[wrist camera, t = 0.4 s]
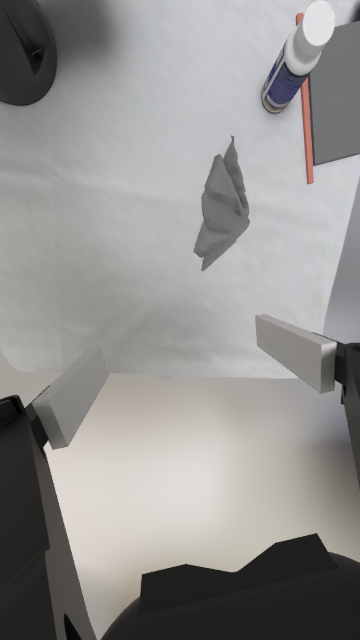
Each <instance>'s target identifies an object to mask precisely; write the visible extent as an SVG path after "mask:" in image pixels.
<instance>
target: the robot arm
mask: <svg viewBox="0 0 360 640" xmlns="http://www.w3.org/2000/svg"><path fill="white" fill-rule="evenodd" d="M56 63H57V58H56V48H55V43H54V39H53V35H52V33H51V30H50V28H49V25H48V23H47V21H46V19H45V17H44V15H43V12H42V10H41V8H40V6H39V4H38V2H37V1H36V0H0V100H1V101H4V102H7V103H10V104H16V105H24V104H29V103H33V102H35V101H37V100H38V99H40V98H41V97H42V96H43V95H44V94H45V93H46V92H47V91H48V89H49V88H50V86H51V84H52V82H53V79H54V76H55V72H56ZM255 321H256V335H257V346H258V347H260V348H261V349H262V350H264V351H265V352H266V353H268V354H269V355H270V356H271V357H273V358H274V359H275V360H277V361H278V362H279V363H281V364H282V365H283V366H285V367H286V368H287V369H289V370H290V371H291V372H293V373H294V374H295V375H296V376H298V377H299V378H300V379H302V380H303V381H304V382H306V383H307V384H308V385H310V386H311V387H312V388H314V389H315V390H316V391H318V392H319V393H320V394H321V393H326V392H331V391H334V387H335V380H336V381H337V382H339V383H341V384H342V395H341V404H344V406H345V412H346V418H347V423H348V429H349V433H350V439H351V445H352V450H353V456H354V461H355V467H356V472H357V477H358V483H359V488H360V343H348V344H343V343H340V342H338V341H335V340H332V339H328V338H327V337H325V336H322V335H319V334H317V333H313V332H309V331H307V330H304V329H301V328H299V327H296V326H294V325H291V324H289V323H286V322H283V321H281V320H278V319H276V318H273V317H270V316H268V315H265V314H261V315H256V316H255ZM108 376H109V373H108V370H107V367H106V364H105V360H104V357H103V354H102V351H101V348H100V346H95V347H90V348H89V349H88V350H87V351H86V352H85V353H84V354H83V355H82V356H81V357H80V358H79V359H78V360H77V361H76V362H74V363H73V364H72V365H71V366H70V367H69V368H68V369H67V370H66V371H65V372H64V373H63V374H62V375H61V376H60V377H59V378H58V379H57V380H55V382H53V383H52V384H51V385H49V386H48V387H47V388H46V389H45V390H44V391H43V392H42V393H40V394H39V395H38V397H37V398H35V399H34V400H33V401H32V402H31V403H30V404H29V405H28V406H27V407H26V408H24V406H23V404H22V402H21V399H20V397H19V396H18V395H12V396H9V397H5V398H3V399H0V640H97V639H96V636H95V634H94V631H93V629H92V626H91V623H90V620H89V617H88V613H87V610H86V606H85V602H84V598H83V595H82V591H81V587H80V583H79V580H78V575H77V572H76V568H75V564H74V560H73V556H72V552H71V549H70V545H69V541H68V537H67V533H66V529H65V526H64V522H63V518H62V515H61V510H60V507H59V503H58V499H57V495H56V491H55V487H54V483H53V480H52V476H51V472H50V468H49V464H48V461H47V457H46V453H45V451H44V449H43V447H44V445H45V444H46V443H47V441H49V443H50V445H51V447H52V449H58V448H63V447H68V446H69V444H70V442H71V441H72V439H73V437H74V435H75V433H76V432H77V430H78V428H79V426H80V425H81V423H82V421H83V419H84V418H85V416H86V414H87V413H88V411H89V409H90V407H91V405H92V404H93V402H94V400H95V398H96V397H97V395H98V393H99V392H100V390H101V388H102V386H103V385H104V383H105V381H106V379H107V378H108ZM101 640H360V563H359V562H357V561H354V560H352V559H350V558H347V557H345V556H342V555H339V554H335V553H331V552H328V551H327V550H326V548H325V546H324V545H323V543H322V541H321V539H320V538H319V536H318V534H317V533H315V534H312V535H307V536H303V537H299V538H294V539H290V540H286V541H282V542H277V543H275V544H273V545H272V546H271V547H269V548H268V549H267V550H265V551H264V552H263V553H261V554H260V555H259V556H257V557H256V558H255V559H254V560H252V561H251V562H250V563H248V564H247V565H246V566H244V567H243V568H242V569H241V570H239V571H237V572H226V571H221V570H215V569H210V568H204V567H199V566H194V565H188V564H184V565H180V566H176V567H171V568H167V569H163V570H159V571H155V572H150V573H146V574H142V580H141V593H140V597H138V598H137V599H136V600H134V601H133V602H132V603H131V604H130V605H129V606H128V607H127V608H126V609H125V610H124V611H123V612H122V613H121V614H120V615H119V616H118V618H117V619H116V620H115V621H114V622H113V623H112V624H111V626H110V627H109V628H108V630H107V631H106V633H105V634H104V636H103V637H102V639H101Z"/></svg>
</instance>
